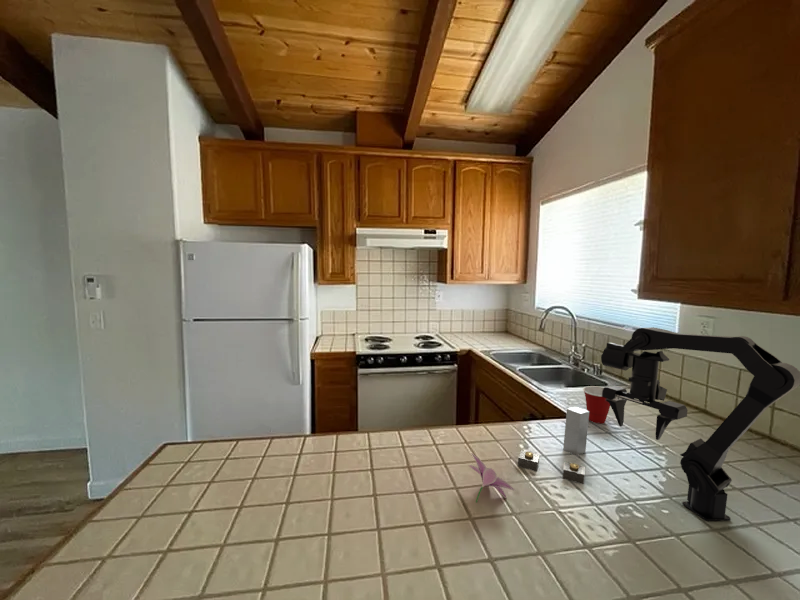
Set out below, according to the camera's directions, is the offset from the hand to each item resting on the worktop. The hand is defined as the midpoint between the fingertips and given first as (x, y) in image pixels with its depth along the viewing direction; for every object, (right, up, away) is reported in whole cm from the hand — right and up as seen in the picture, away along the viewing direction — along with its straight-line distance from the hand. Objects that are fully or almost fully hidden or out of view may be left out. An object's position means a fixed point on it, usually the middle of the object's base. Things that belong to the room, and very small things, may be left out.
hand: (638, 432), depth 100 cm
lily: (-43, -12, -11) cm, 46 cm away
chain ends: (-22, -12, +3) cm, 25 cm away
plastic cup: (+11, -11, +42) cm, 45 cm away
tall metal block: (-10, -11, +16) cm, 22 cm away
